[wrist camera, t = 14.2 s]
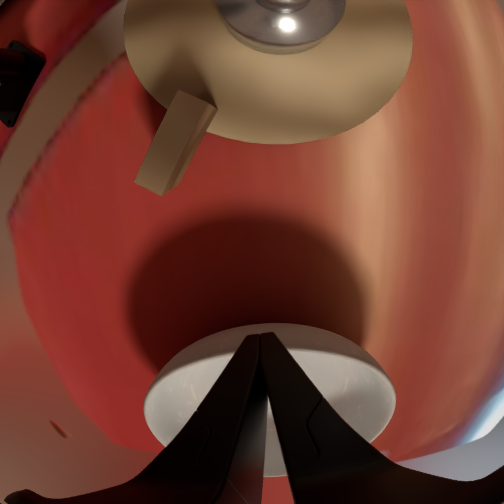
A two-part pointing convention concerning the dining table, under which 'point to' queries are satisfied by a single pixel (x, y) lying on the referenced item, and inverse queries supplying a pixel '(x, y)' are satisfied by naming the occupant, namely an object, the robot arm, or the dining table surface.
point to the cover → (281, 23)
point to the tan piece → (258, 79)
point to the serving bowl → (313, 364)
